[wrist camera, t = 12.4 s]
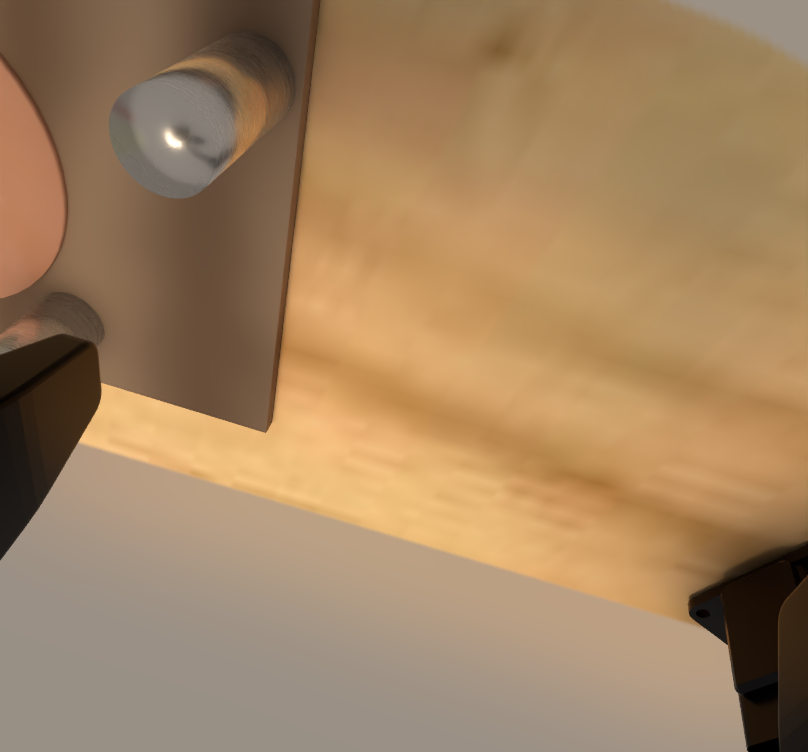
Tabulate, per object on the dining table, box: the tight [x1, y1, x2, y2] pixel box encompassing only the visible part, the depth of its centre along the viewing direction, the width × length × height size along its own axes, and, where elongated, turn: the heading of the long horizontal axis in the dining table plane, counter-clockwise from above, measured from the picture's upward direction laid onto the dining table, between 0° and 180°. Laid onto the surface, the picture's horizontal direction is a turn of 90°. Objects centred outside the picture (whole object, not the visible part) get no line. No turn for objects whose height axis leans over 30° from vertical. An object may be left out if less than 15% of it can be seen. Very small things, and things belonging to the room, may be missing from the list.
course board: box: [0, 0, 320, 433], centre depth 23 cm, size 18×15×1 cm
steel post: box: [0, 31, 296, 354], centre depth 21 cm, size 2×14×5 cm, turn 137°
